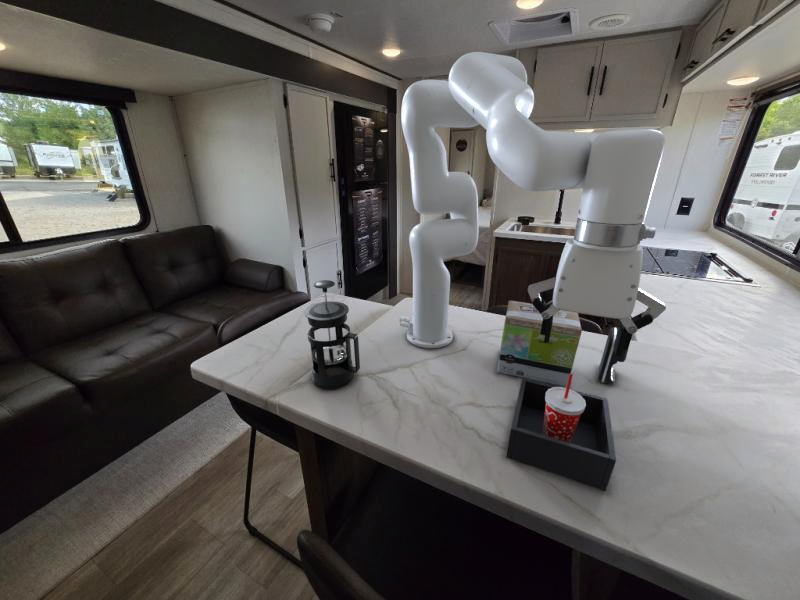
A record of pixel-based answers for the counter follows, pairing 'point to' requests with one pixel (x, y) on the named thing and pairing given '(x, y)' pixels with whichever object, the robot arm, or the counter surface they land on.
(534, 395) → the black open box
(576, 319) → the tea box
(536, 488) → the counter surface
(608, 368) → the battery charger
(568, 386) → the beverage cup
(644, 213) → the robot arm
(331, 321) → the french press
